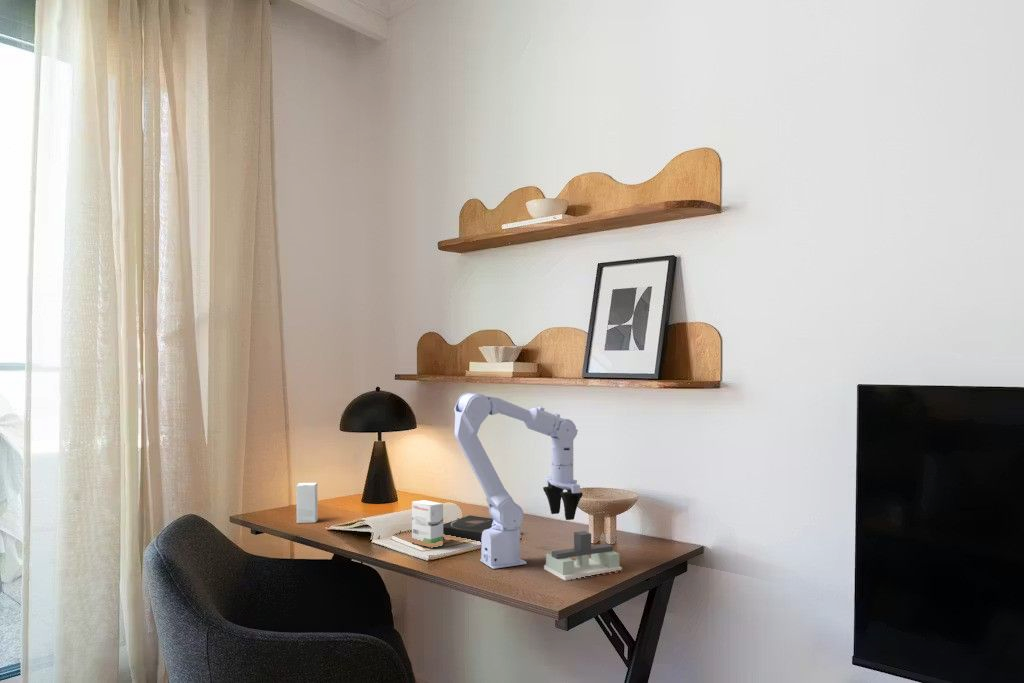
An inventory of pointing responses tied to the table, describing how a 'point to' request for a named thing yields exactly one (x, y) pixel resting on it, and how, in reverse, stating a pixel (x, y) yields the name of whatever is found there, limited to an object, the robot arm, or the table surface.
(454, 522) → the portable cd player
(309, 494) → the skincare box
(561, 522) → the table surface
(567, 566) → the stand
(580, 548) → the grey inverted t block
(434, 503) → the ink box
